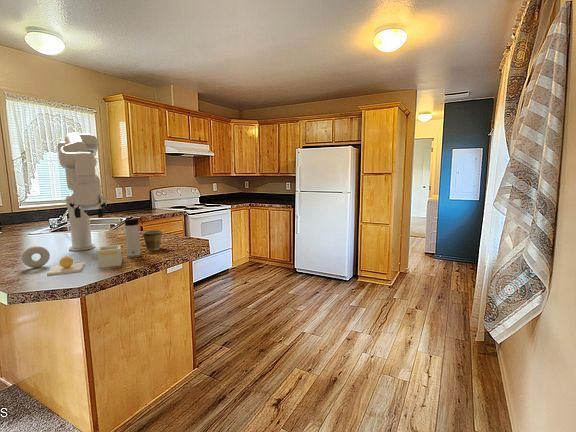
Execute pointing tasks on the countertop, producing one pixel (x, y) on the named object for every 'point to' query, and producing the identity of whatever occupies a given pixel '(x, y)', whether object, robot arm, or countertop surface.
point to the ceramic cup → (152, 239)
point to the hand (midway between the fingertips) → (89, 217)
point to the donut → (33, 250)
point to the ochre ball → (66, 262)
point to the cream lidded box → (109, 256)
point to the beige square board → (66, 269)
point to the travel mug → (132, 238)
